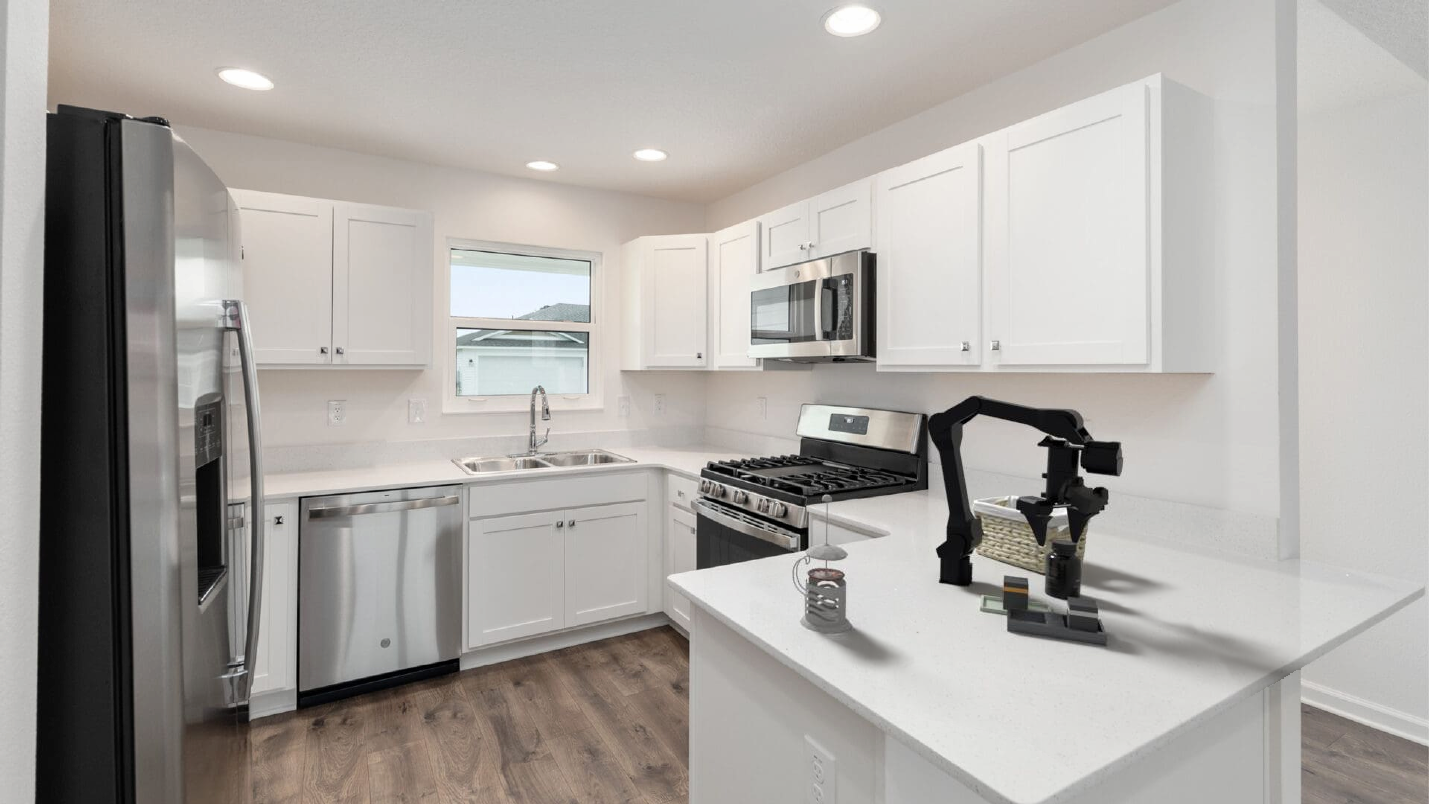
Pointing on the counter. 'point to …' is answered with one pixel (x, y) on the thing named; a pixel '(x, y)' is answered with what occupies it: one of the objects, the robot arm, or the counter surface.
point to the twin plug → (1082, 614)
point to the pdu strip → (1051, 626)
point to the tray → (996, 605)
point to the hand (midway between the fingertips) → (1058, 544)
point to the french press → (825, 589)
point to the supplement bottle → (1063, 570)
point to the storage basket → (1020, 533)
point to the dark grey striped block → (1015, 592)
